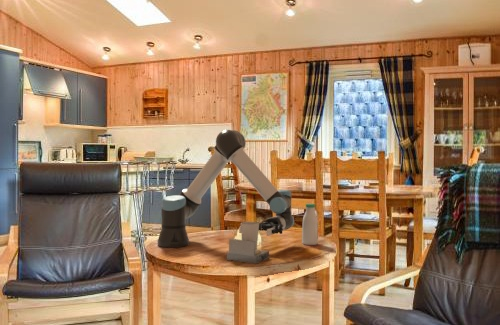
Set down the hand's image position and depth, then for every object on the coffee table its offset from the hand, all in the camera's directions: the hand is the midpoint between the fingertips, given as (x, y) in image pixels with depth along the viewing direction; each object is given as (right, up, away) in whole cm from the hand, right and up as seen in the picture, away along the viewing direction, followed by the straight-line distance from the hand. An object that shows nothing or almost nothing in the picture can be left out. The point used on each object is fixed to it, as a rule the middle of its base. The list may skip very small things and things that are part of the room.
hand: (253, 231), depth 210 cm
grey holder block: (-2, -11, -4) cm, 12 cm away
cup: (-2, -8, -3) cm, 9 cm away
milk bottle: (+28, -11, +31) cm, 43 cm away
